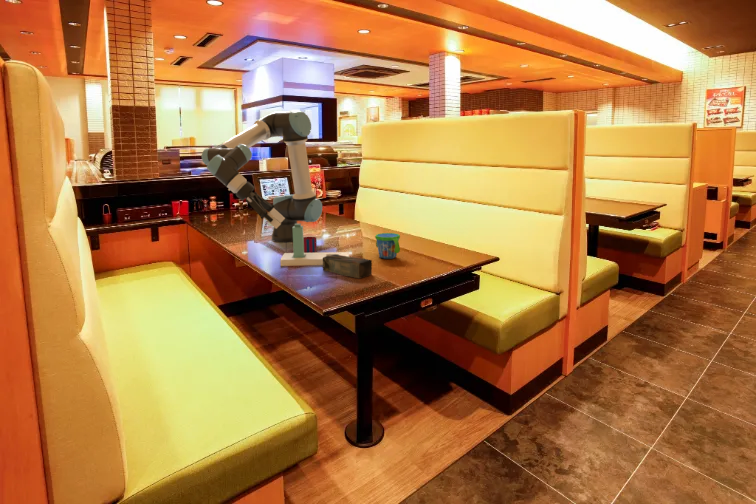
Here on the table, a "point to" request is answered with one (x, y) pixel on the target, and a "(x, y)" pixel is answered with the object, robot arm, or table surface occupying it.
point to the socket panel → (307, 258)
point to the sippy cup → (388, 245)
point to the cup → (310, 244)
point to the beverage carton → (347, 266)
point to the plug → (298, 241)
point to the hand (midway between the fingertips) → (280, 223)
